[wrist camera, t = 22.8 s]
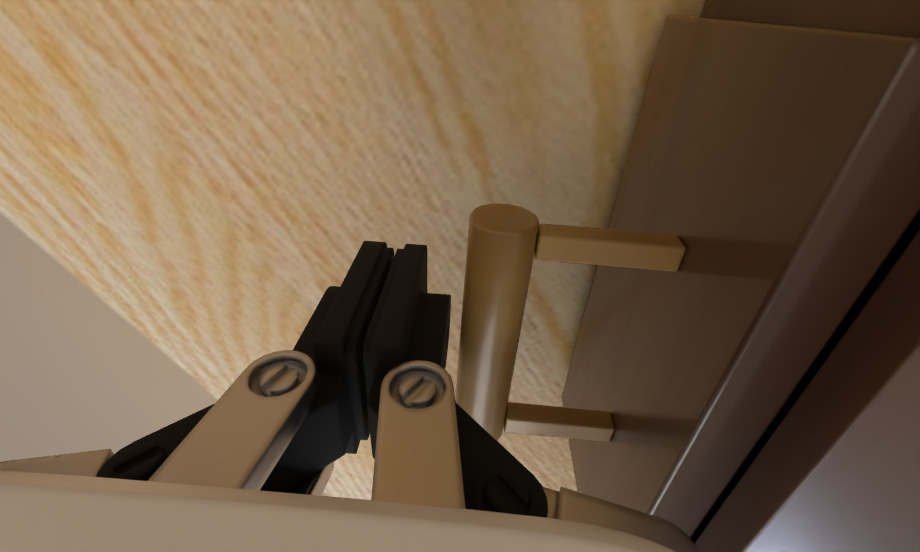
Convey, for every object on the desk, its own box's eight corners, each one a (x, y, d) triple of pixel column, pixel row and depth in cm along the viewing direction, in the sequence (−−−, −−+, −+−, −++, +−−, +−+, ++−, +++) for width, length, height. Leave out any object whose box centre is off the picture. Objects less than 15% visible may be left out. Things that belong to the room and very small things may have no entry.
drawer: (457, 387, 18) (438, 592, 12) (489, 2, 11) (481, 6, 4) (919, 429, 18) (1152, 666, 11) (1290, 58, 10) (2557, 155, 4)
